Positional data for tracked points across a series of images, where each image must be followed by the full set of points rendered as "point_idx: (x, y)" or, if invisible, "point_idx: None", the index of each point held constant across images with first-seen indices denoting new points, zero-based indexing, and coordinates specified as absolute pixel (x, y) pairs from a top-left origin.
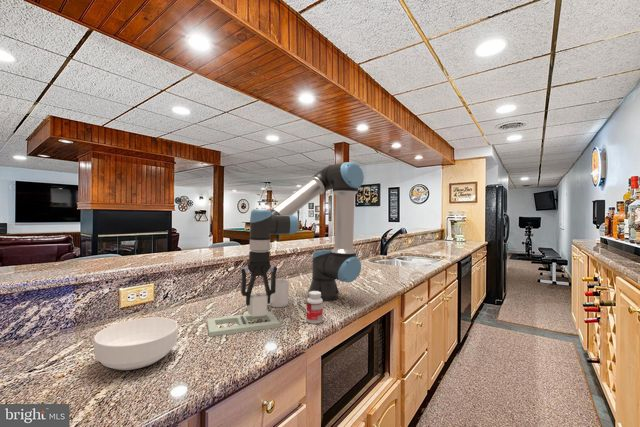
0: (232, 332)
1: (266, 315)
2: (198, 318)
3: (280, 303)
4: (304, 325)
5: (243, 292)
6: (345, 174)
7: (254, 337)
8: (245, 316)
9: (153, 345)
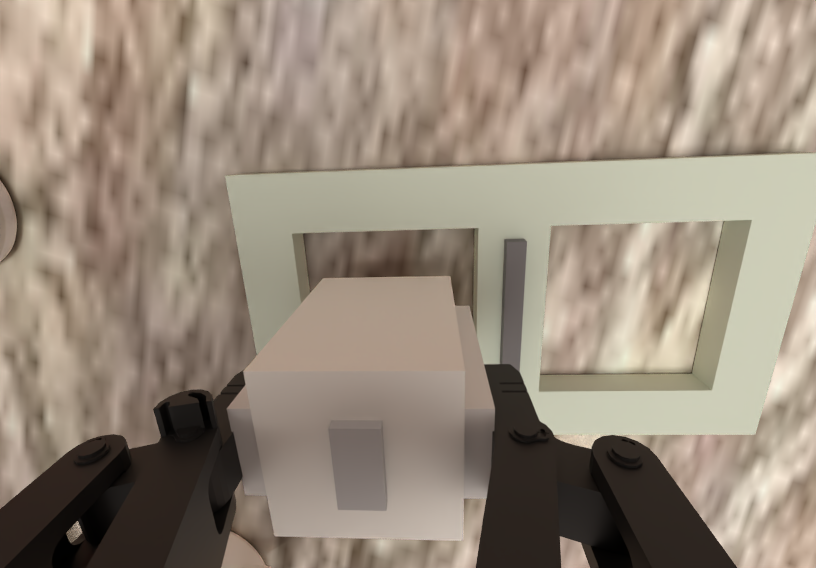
0: (622, 159)
1: None
2: (760, 501)
3: None
4: (42, 144)
5: (650, 481)
6: None
7: (470, 18)
8: None
9: None
